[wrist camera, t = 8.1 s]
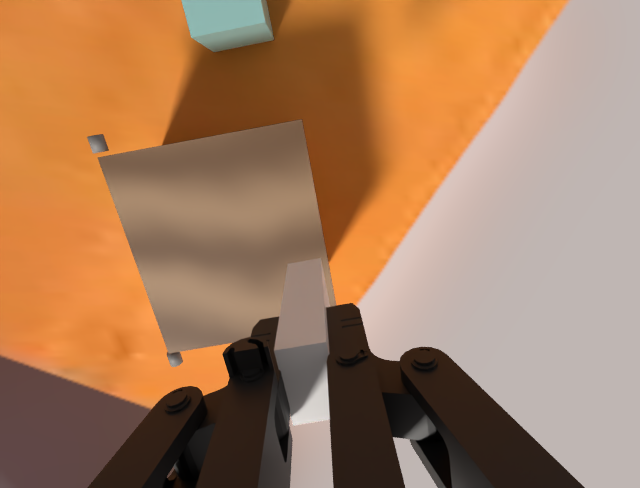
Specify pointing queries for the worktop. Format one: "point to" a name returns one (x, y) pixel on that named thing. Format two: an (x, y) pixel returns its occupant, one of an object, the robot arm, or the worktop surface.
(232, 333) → the lid
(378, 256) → the worktop surface
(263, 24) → the block
